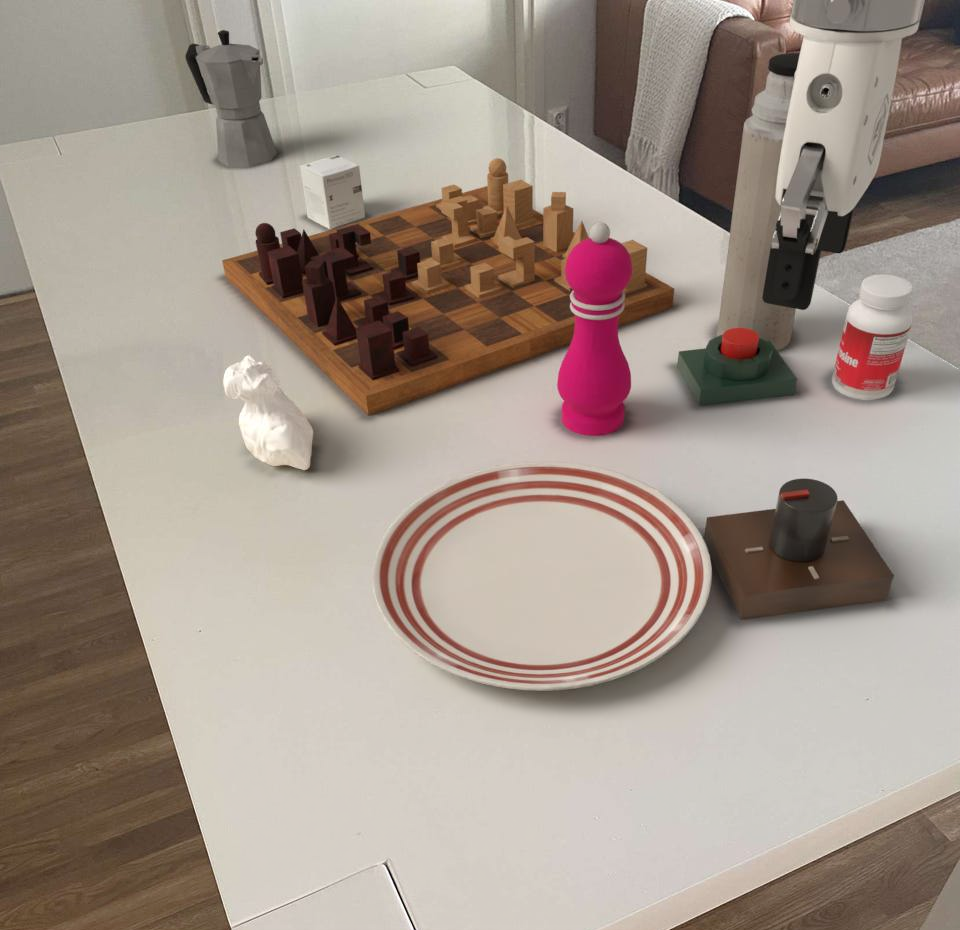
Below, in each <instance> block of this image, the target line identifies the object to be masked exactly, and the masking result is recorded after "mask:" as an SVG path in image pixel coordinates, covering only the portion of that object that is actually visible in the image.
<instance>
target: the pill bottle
mask: <svg viewBox="0 0 960 930" xmlns="http://www.w3.org/2000/svg"><path fill="white" fill-rule="evenodd" d="M913 290H914V287H913V284H912V283H911V282H910V281H909V280H907V279H905V278H903V277H902V276H897V275H894V274H886V273H885V274H884V273H883V274H881V273H879V274H873V275H868V276H867V277H865V278H864V279H863V280H862V282H861V284H860V288H859V292H858V296H859V297H858V299H856V300H855V301H854V302H852V303H851V304H850V306H849V307H848V309H847V312H846V317H845V319H844V324H843V327H842V332H841V336H840V341H839V346H838V350H837V354H836V355H837V356H836V359H835V362H834V367H833V372H832V377H831V383H832V386H833V388H834V389H835V391H837V392H838V393H840V394H842V395H844V396H846V397H849V398H851V399H855V400H862V401H874V400H875V401H876V400H880V399H883V398H885V397H887V396H889V395H890V394H891V393H892V392H893V391H894V388H895V386H896V382H897V379H898V375H899V371H900V368H901V364H902V360H903V357H904V353H905V350H906V345H907V342H908V339H909V335H910V331H911V329H912V324H913V321H914V316H913V311H912V309H911V308H910V307H909V304H910V302H911V299H912V294H913Z"/></svg>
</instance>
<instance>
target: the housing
mask: <svg viewBox="0 0 960 930" xmlns="http://www.w3.org/2000/svg"><path fill="white" fill-rule="evenodd" d="M722 337H723V335H720V336H718V337H717V336H716V337H714V338H712V339H710V340H709V341H708V342H707V345H706V347H705V348H696V349H687V350H686V349H685V350H679V351H678V355H677V364H676V369H677V370H678V372H679V374H680V375H681V377H682V379H683V380H684V382H685V384H686V386H687V387H688V390H690V393H691V395H692V396H693V398H694V400H695V402H696V404H697V406H698V407H704V406H705V407H706V406H712V405H720V404H721V405H722V404H729V403H731V404H732V403H738V402H739V403H740V402H747V401H755V400H764V399H773V398H781V397H788V396H795V391H796V386H797V383H798V382H797V381H798V378H797V376H796V375H795V373H794V372H793V371H792V370H791V368H790V367H789V365H788V363H786V361H785V360H784V358H783V357H782V356H781V354H780V353H779V352H778V351H777V350H776V349H775V347H774V346H773V345H772V343H771V342H770V341H765V340H763V339H761V338H759V341H758V347H757V353H756V355H755V356H754V357H752V358H750V359H741V360H740V359H734V358H729V357H727V356H725V355H723V354H722V353H721V344H722Z"/></svg>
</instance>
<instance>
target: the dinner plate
mask: <svg viewBox="0 0 960 930" xmlns="http://www.w3.org/2000/svg"><path fill="white" fill-rule="evenodd" d="M712 579H713V570H712V559H711V557H710V555H709V552H708V548H707V546H706V543H705V541H704V536H702V533H701V532H700V530H699V528H698V527H697V526H696V524H695V523H694V521H693V520H692V519H691V518H690V517H689V516H688V514H687V513H686V512H685V511H684V510H683V509H682V508H681V507H680V506H678V504H676V502H674V501H673V500H671V498H669V497H668V496H667V495H665V494H663V493H662V492H660V491H658V490H657V489H655V488H653V487H652V486H650V485H648V484H647V483H644V482H642V481H640V480H639V479H636V478H634V477H631V476H629V475H627V474H624V473H620V472H618V471H614V470H610V469H607V468H604V467H600V466H599V467H598V466H593V465H589V464H583V463H574V462H563V461H526V462H516V463H509V464H508V463H507V464H501V465H497V466H496V465H495V466H491V467H487V468H483V469H480V470H475V471H472V472H470V473H466V474H463V475H460V476H458V477H456V478H453V479H451V480H449V481H448V480H447V481H446V482H444V483H442V484H440V485H438V486H436V487H434V488H432V489H431V490H429V491H428V492H426V493H424V494H423V495H421V496H419V497H418V498H417V499H415V500H414V501H413V502H412V503H411V504H409V505H408V506H407V507H405V509H404V510H402V511H401V513H400V514H399V515H398V516H397V517H396V518H395V519H394V520H393V522H392V523H391V524H390V526H389V527H388V528H387V530H386V531H385V533H384V535H383V537H382V539H381V540H380V542H379V545H378V547H377V550H376V553H375V557H374V561H373V568H372V589H373V590H372V591H373V594H374V600H375V603H376V606H377V608H378V610H379V613H380V615H381V616H382V619H383V620H384V622H385V623H386V625H387V626H388V628H389V629H390V630H391V632H392V633H393V634H394V635H395V636H396V637H397V638H398V639H399V641H401V642H402V644H403V645H404V646H406V647H407V648H408V649H409V650H410V651H412V652H413V653H414V654H415V655H417V656H419V657H420V658H421V659H423V660H424V661H425V662H428V663H429V664H431V665H432V666H434V667H436V668H438V669H441V670H443V671H444V672H447V673H449V674H451V675H455V676H457V677H459V678H462V679H465V680H469V681H472V682H476V683H478V684H483V685H488V686H492V687H497V688H504V689H511V690H519V691H520V690H521V691H536V692H537V691H539V692H540V691H541V692H543V691H547V692H548V691H562V690H563V691H564V690H572V689H573V690H574V689H580V688H588V687H591V686H596V685H599V684H603V683H608V682H611V681H614V680H617V679H620V678H622V677H625V676H627V675H630V674H632V673H634V672H637V671H640V670H641V669H643V668H645V667H646V666H648V665H650V664H651V663H653V662H655V661H657V660H658V659H660V658H661V657H663V656H665V654H668V652H670V651H671V650H672V649H673V648H674V647H676V646H677V645H678V644H679V643H680V642H681V641H682V640H683V639H684V638H686V636H687V635H688V634H689V633H690V631H691V630H692V628H694V626H695V625H696V624H697V623H698V620H699V619H700V617H701V616H702V613H703V612H704V610H705V607H706V605H707V603H708V599H709V597H710V593H711V588H712V581H713V580H712Z"/></svg>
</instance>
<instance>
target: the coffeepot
mask: <svg viewBox="0 0 960 930" xmlns="http://www.w3.org/2000/svg"><path fill="white" fill-rule="evenodd" d="M217 35H218V38H219V40H220V44H219V45H214V46H212V47H211V46H210V45H207V44H198V43H191V44H189V45H188V47H187V50H186V52H185V61H186V64H187V66H188V68H189V70H190V72H191V74H192V77H193V80H194V83H195V84H196V86H197V88H198V91H199V93H200V95H201V98H202V100H203V101H204V103H206V104H209V105H213V106H214V107H215V110H216V114H217V115H216V116H217V117H216V119H215V124H216V125H215V126H216V141H217V142H216V143H217V159H218V162H220V163H221V164H223V165H224V166H225V167H228V168H251V167H255V166H259V165H262V164H266V163H270V162H272V160H273V159H274V158H275V157H276V156H277V154H278V152H277V149H276V146H275V143H274V140H273V137H272V134H271V132H270V128H269V126H268V123H267V119H266V117H265V114H264V112H262V110H261V109H262V108H261V104H260V101H261V99H262V75H261V74H262V73H261V66H262V65H264V58H262V57H261V55H260V49H258V48H256V47H254V46H252V45H249V44H240V43H239V44H238V43H230V31H229V30H225V29H222V30H220V31H218V32H217Z"/></svg>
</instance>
